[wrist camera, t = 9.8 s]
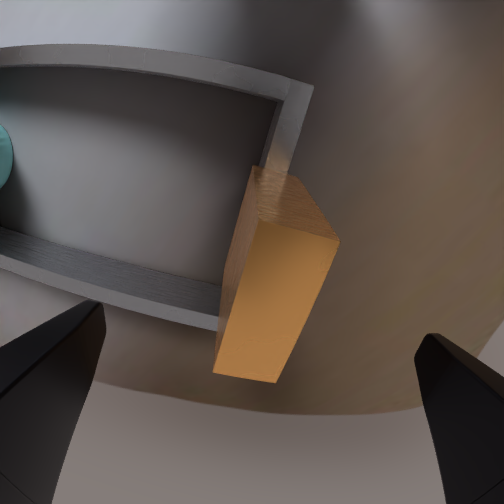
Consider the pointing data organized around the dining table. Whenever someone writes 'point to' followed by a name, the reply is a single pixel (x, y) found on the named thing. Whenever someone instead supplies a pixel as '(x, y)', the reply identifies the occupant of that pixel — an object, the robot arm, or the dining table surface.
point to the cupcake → (5, 156)
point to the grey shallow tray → (244, 238)
